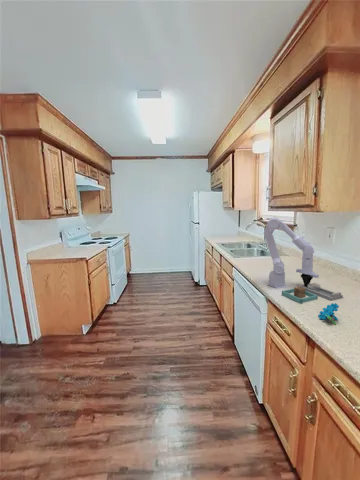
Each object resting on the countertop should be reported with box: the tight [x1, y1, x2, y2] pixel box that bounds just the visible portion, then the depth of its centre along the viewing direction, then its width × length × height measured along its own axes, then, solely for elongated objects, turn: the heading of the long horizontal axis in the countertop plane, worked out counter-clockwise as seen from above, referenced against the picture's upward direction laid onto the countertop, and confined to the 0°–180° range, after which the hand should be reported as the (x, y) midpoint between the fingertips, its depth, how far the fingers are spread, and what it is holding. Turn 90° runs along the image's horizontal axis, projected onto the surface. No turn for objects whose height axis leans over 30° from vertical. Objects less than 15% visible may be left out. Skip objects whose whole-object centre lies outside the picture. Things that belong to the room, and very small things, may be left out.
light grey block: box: [308, 282, 321, 291], centre depth 139 cm, size 4×5×4 cm
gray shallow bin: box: [297, 284, 344, 302], centre depth 136 cm, size 22×10×4 cm, turn 20°
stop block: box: [293, 286, 306, 299], centre depth 132 cm, size 4×4×5 cm
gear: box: [318, 302, 340, 325], centre depth 106 cm, size 11×6×10 cm
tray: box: [281, 288, 319, 305], centre depth 132 cm, size 14×12×2 cm
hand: (306, 286), depth 144 cm, fingers closed
